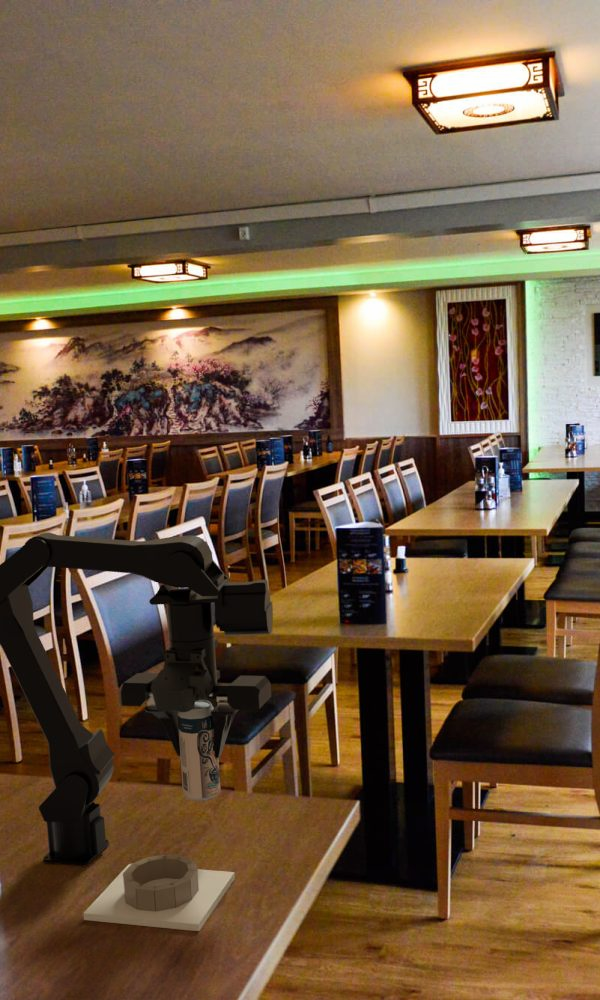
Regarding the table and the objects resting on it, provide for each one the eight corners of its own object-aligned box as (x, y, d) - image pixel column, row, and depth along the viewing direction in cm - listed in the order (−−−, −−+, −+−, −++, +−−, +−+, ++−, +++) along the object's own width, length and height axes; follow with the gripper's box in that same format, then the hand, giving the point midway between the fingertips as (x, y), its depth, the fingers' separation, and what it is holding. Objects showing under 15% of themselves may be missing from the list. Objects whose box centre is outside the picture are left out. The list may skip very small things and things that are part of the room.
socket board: (84, 919, 111) (81, 892, 110) (129, 869, 122) (127, 844, 122) (198, 931, 107) (197, 902, 107) (234, 878, 118) (233, 852, 118)
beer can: (214, 803, 122) (208, 711, 121) (178, 802, 123) (172, 710, 122) (224, 788, 127) (219, 699, 126) (189, 787, 128) (183, 698, 127)
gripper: (94, 652, 118) (104, 776, 119) (240, 654, 113) (248, 784, 114) (134, 630, 128) (142, 744, 130) (269, 631, 123) (276, 750, 125)
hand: (199, 756), depth 124 cm, fingers closed on beer can, 5 cm apart
